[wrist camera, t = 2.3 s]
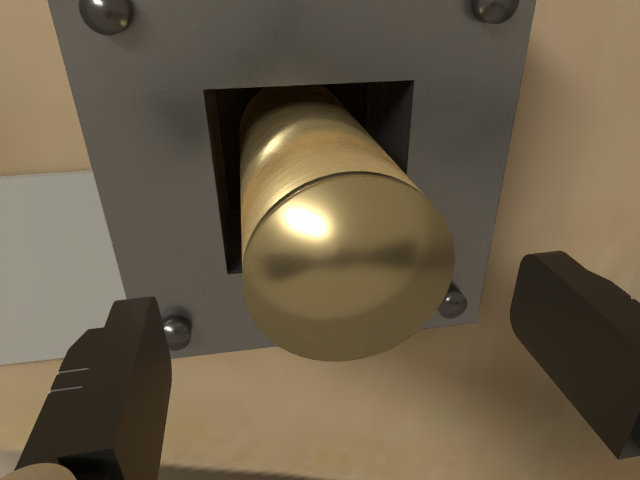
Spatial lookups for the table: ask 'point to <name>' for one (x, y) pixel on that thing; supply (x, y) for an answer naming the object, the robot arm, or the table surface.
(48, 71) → the table surface
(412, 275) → the brass cylindrical shaft
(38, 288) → the rubber mat
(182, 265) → the grey square socket block
